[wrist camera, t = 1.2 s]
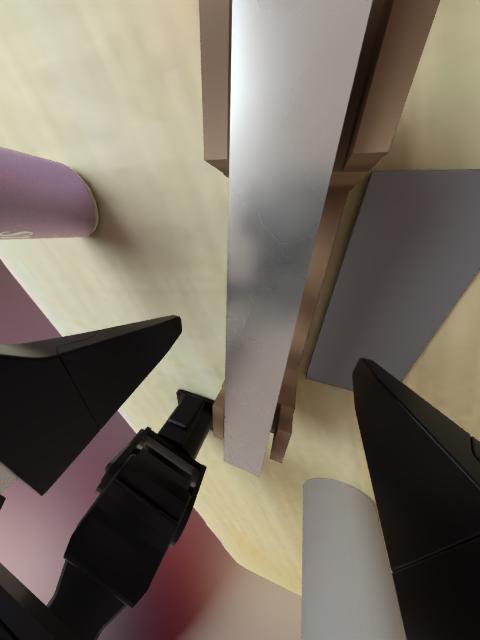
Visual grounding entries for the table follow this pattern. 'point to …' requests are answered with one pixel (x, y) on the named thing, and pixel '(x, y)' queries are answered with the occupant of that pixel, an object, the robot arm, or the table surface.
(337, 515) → the cup
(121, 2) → the table surface
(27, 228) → the beverage can
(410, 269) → the mat
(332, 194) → the rack
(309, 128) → the rail
